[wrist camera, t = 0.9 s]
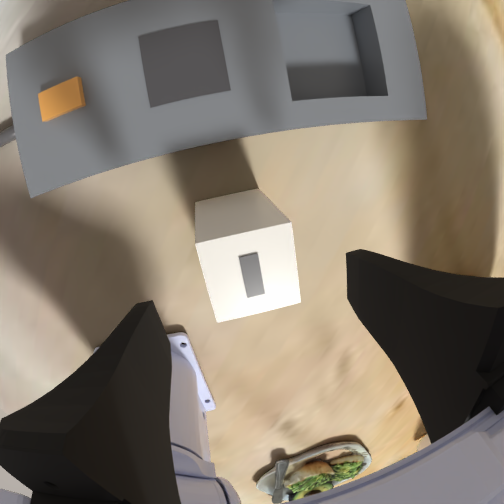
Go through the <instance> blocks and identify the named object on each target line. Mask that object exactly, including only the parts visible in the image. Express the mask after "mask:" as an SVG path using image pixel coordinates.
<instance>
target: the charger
mask: <svg viewBox="0 0 504 504" xmlns="http://www.w3.org/2000/svg"><path fill="white" fill-rule="evenodd" d="M195 245H196V249H197V253H198V256H199V260H200V264H201V268H202V271H203V275H204V279H205V282H206V286H207V289H208V293H209V296H210V300H211V303H212V307H213V310H214V314H215V317H216V321H217V323H219V322H223V321H227V320H232V319H236V318H240V317H245V316H249V315H253V314H257V313H261V312H265V311H269V310H273V309H277V308H281V307H285V306H289V305H293V304H296V303H300V302H301V299H300V290H299V281H298V272H297V263H296V254H295V246H294V238H293V230H292V222H291V221H290V220H289V219H288V218H287V217H286V216H285V215H284V214H283V213H282V212H281V211H280V210H279V209H278V208H277V207H276V206H275V205H274V204H273V202H272V201H271V200H270V199H269V198H268V197H267V196H266V195H265V194H264V193H263V192H262V191H261V190H260V189H259V188H258V189H253V190H248V191H243V192H238V193H234V194H229V195H224V196H220V197H215V198H211V199H206V200H202V201H198V202H195Z"/></svg>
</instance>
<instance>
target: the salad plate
mask: <svg viewBox="0 0 504 504" xmlns="http://www.w3.org/2000/svg"><path fill="white" fill-rule="evenodd" d="M338 449H346V450H349V451H351V452H352V453H353V454H352V455H347V456H344V457H341V458H337V459H334V460H331V461H320V460H321V459H316V457H318V456H319V455H321V454H323V453H325V452H328V451H333V450H338ZM371 460H372V458H371V455H370V453H369V452H367V451H366V449H365V448H364V447H363V446H362V445H360V444H359V443H357V442H336V443H330V444H326V445H323V446H319V447H316V448H314V449H311V450H309V451H307V452H305V453H302V454H300V455H298V456H295V457H293V458H290V459H281V460H278V461H277V462H276V463H275V467H274V468H273V469H271V470H270V471H268V472H267V473H265V474H264V475H263V476H262V477H261V478H260V479H259V481H258V482H257V483H256V487H257V489H259V490H260V491H263V492H265V493H267V494H270V495H272V502H273V503H274V504H278V503H281V502H282V501H284V500H289V501H293V500H297V499H300V498H304V497H307V496H311V495H314V494H317V493H321V492H324V491H327V490H330V489H333V487H334V485H337V484H339V483H341V482H344V481H346V480H349V479H351V478H352V479H353V478H354V477H355V476H357V475H359V474H360V473H362V472H363V471H364V470H365V469H366V468H367V467H368V466H369V465H370V464H371V462H372V461H371Z"/></svg>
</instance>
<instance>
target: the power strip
mask: <svg viewBox="0 0 504 504" xmlns="http://www.w3.org/2000/svg"><path fill="white" fill-rule="evenodd" d="M6 66H7V79H8V89H9V98H10V106H11V113H12V119H13V125H12V126H10V127H8V128H6V129H4V130H3V131H1V132H0V147H2V146H4V145H5V144H7V143H9V142H11V141H13V140H15V139H16V141H17V146H18V151H19V155H20V160H21V164H22V168H23V172H24V176H25V180H26V183H27V187H28V191H29V194H30V197H31V198H33V197H35V196H38V195H40V194H43V193H45V192H48V191H50V190H53V189H56V188H58V187H61V186H64V185H67V184H69V183H72V182H75V181H78V180H81V179H84V178H87V177H90V176H93V175H96V174H99V173H102V172H105V171H108V170H111V169H115V168H118V167H121V166H125V165H128V164H131V163H135V162H138V161H142V160H146V159H149V158H153V157H157V156H161V155H165V154H168V153H172V152H177V151H181V150H185V149H189V148H194V147H198V146H202V145H207V144H212V143H217V142H221V141H227V140H232V139H237V138H242V137H248V136H254V135H260V134H266V133H272V132H279V131H285V130H292V129H300V128H308V127H316V126H325V125H335V124H346V123H358V122H373V121H392V120H427V112H426V103H425V95H424V87H423V80H422V74H421V67H420V62H419V56H418V51H417V46H416V41H415V36H414V32H413V28H412V24H411V19H410V16H409V12H408V8H407V4H406V1H405V0H129V1H126V2H122V3H119V4H116V5H113V6H110V7H107V8H104V9H101V10H99V11H96V12H93V13H91V14H88V15H85V16H83V17H80V18H78V19H76V20H73V21H71V22H68V23H66V24H64V25H62V26H60V27H57V28H55V29H53V30H51V31H49V32H47V33H45V34H43V35H41V36H39V37H37V38H35V39H33V40H31V41H29V42H28V43H26V44H24V45H22V46H20V47H19V48H17V49H15V50H13V51H12V52H10V53H8V54H7V55H6Z"/></svg>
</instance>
